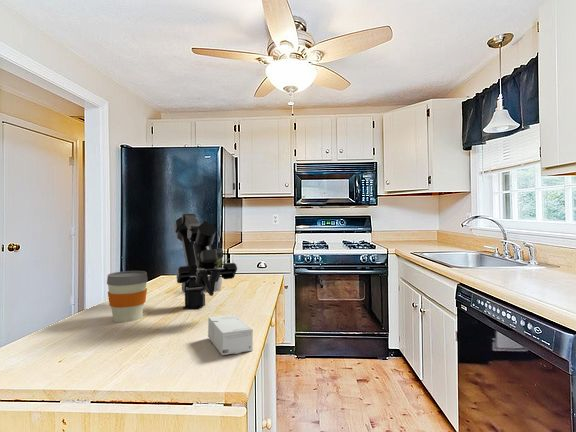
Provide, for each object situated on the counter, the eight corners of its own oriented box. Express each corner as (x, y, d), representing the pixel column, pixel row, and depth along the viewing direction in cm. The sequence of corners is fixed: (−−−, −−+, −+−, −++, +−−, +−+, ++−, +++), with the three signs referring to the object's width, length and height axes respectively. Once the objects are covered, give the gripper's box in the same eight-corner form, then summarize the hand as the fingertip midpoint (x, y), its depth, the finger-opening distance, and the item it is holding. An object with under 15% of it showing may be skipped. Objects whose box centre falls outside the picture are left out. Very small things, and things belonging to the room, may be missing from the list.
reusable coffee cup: (156, 315, 122) (155, 272, 122) (125, 325, 111) (125, 278, 111) (129, 311, 128) (129, 269, 127) (98, 321, 116) (97, 275, 116)
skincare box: (234, 313, 103) (254, 327, 90) (234, 334, 103) (254, 351, 90) (206, 317, 99) (222, 331, 86) (206, 338, 99) (222, 356, 86)
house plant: (227, 294, 154) (227, 256, 154) (196, 294, 154) (195, 256, 154) (233, 287, 168) (233, 252, 168) (204, 287, 168) (204, 253, 168)
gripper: (177, 241, 110) (184, 283, 101) (235, 238, 119) (246, 277, 109) (174, 262, 118) (179, 303, 108) (228, 259, 126) (238, 297, 116)
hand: (211, 295), depth 110 cm, fingers closed
